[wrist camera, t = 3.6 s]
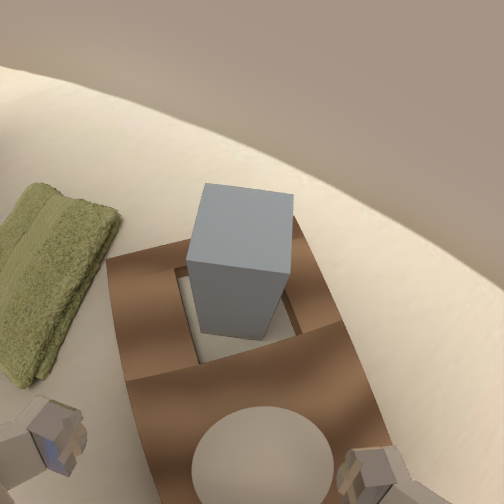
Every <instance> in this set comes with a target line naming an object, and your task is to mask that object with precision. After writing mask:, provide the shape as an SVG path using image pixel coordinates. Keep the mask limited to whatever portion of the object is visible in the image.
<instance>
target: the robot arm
mask: <svg viewBox="0 0 504 504" xmlns="http://www.w3.org/2000/svg"><path fill="white" fill-rule="evenodd" d="M82 419H83V417H82V414H81V411H79V410H77V409H75V408H72V407H69V406H67V405H64V404H62V403H59V402H57V401H54V400H52V399H49V398H47V397H44V396H42V395H38V396H36V397H35V398H34V399H33V400H32V402H31V403H30V404H29V405H28V406H27V407H26V409H25V410H24V411H23V412H22V413H21V415H20V416H19V417H18V418H17V419H16V420H15V422H14V423H12V422H7V423H4V424H1V425H0V504H15V502H14V500H13V499H12V498H11V496H10V495H9V494H8V492H7V491H8V490H10V489H12V488H14V487H15V486H17V485H19V484H21V483H23V482H25V481H27V480H28V479H30V478H32V477H34V476H36V475H38V474H39V473H41V472H43V471H45V470H46V468H48V469H50V470H52V471H55V472H57V473H60V474H62V475H65V476H67V477H69V476H70V474H71V473H72V471H73V469H74V467H75V465H76V464H77V463H76V459H75V457H76V456H78V455H80V454H82V452H83V451H84V449H85V446H86V442H87V432H86V428H85V427H84V426H83V425H82V424H81V421H82ZM345 458H346V462H344V463H343V464H341V465H340V467H339V469H338V472H337V478H336V483H337V489H338V491H339V492H340V493H341V494H342V495H343V498H342V499H341V501H340V503H341V504H452V503H450V502H448V501H447V500H445V499H444V498H442V497H441V496H439V495H437V494H436V493H434V492H433V491H431V490H430V489H428V488H427V487H425V486H424V485H422V484H421V483H419V482H418V481H412V479H411V477H410V474H409V472H408V470H407V468H406V465H405V463H404V461H403V459H402V456H401V454H400V452H399V450H398V448H397V447H396V446H395V445H394V446H383V447H369V448H354V449H350V450H349V451H348V452H347V454H346V456H345Z"/></svg>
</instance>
